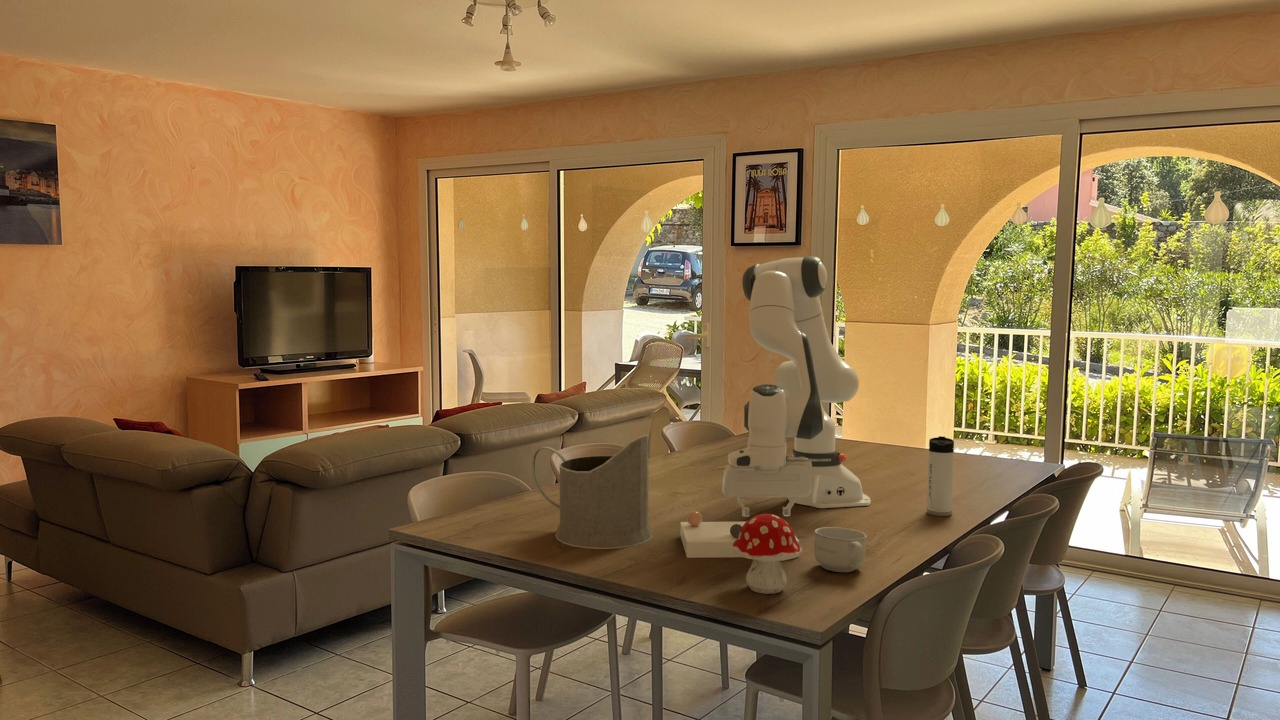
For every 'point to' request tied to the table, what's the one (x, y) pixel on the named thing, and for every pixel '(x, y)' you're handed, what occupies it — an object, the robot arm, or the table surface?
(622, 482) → the pitcher
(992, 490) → the table surface
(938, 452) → the travel mug
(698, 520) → the terracotta ball
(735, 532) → the black rubber ball
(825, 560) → the teacup
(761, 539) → the decorative mushroom
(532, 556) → the table surface
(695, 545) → the white slab
